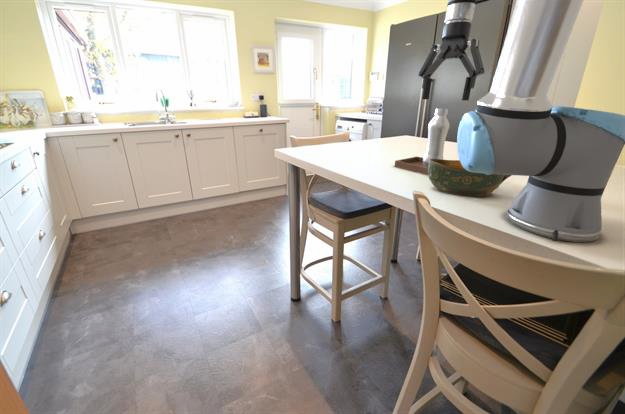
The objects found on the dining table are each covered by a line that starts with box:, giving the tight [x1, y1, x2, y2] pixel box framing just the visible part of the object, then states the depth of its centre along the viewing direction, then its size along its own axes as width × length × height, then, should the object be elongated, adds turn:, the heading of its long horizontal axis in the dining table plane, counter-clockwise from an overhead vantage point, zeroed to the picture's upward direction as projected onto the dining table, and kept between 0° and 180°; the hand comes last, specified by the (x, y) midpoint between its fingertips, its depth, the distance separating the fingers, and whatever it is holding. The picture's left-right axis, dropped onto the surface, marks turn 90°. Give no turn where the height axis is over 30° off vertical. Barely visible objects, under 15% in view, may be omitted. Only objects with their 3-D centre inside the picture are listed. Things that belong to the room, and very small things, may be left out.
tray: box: [394, 156, 428, 176], centre depth 100 cm, size 14×22×2 cm, turn 37°
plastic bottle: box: [422, 108, 450, 168], centre depth 97 cm, size 6×7×20 cm
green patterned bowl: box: [427, 159, 512, 198], centre depth 77 cm, size 13×20×10 cm, turn 49°
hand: (444, 100), depth 92 cm, fingers open, 13 cm apart
